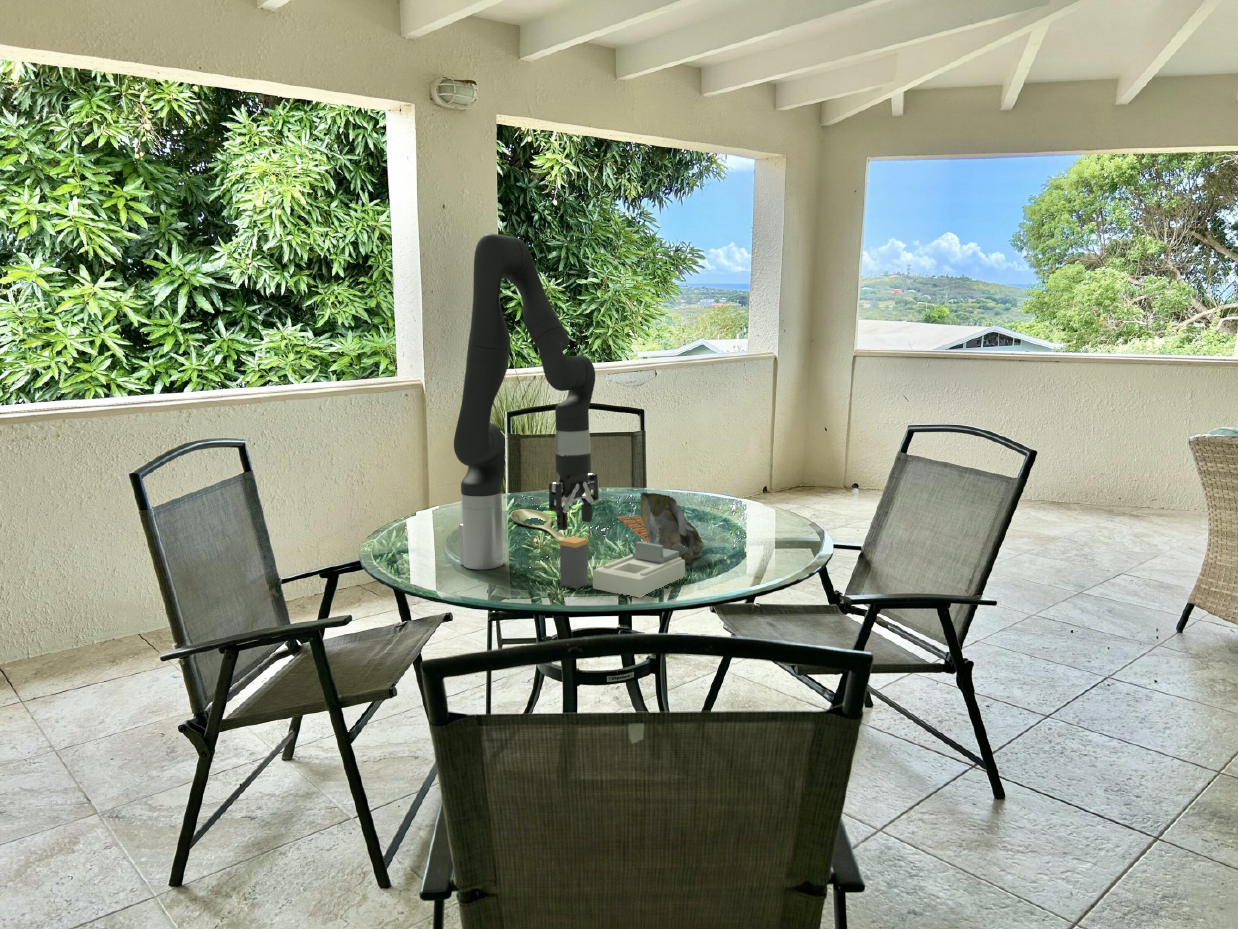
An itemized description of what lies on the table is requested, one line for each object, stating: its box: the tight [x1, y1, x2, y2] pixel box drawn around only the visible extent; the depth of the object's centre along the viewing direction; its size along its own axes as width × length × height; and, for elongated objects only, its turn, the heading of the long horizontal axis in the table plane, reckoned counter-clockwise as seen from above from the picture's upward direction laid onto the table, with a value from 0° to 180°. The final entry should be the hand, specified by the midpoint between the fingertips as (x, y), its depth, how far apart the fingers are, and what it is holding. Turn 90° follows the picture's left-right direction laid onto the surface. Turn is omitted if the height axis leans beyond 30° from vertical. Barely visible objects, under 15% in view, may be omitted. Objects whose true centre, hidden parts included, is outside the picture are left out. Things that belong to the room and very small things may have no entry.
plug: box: [559, 536, 589, 589], centre depth 196 cm, size 4×4×10 cm
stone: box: [639, 491, 705, 564], centre depth 224 cm, size 17×10×30 cm
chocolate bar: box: [616, 514, 702, 543], centre depth 247 cm, size 14×30×1 cm, turn 18°
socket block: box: [592, 553, 686, 598], centre depth 198 cm, size 12×18×4 cm, turn 145°
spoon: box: [509, 508, 568, 542], centre depth 247 cm, size 35×11×2 cm, turn 27°
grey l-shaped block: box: [632, 540, 679, 563], centre depth 202 cm, size 8×7×4 cm
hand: (575, 525), depth 195 cm, fingers open, 8 cm apart
